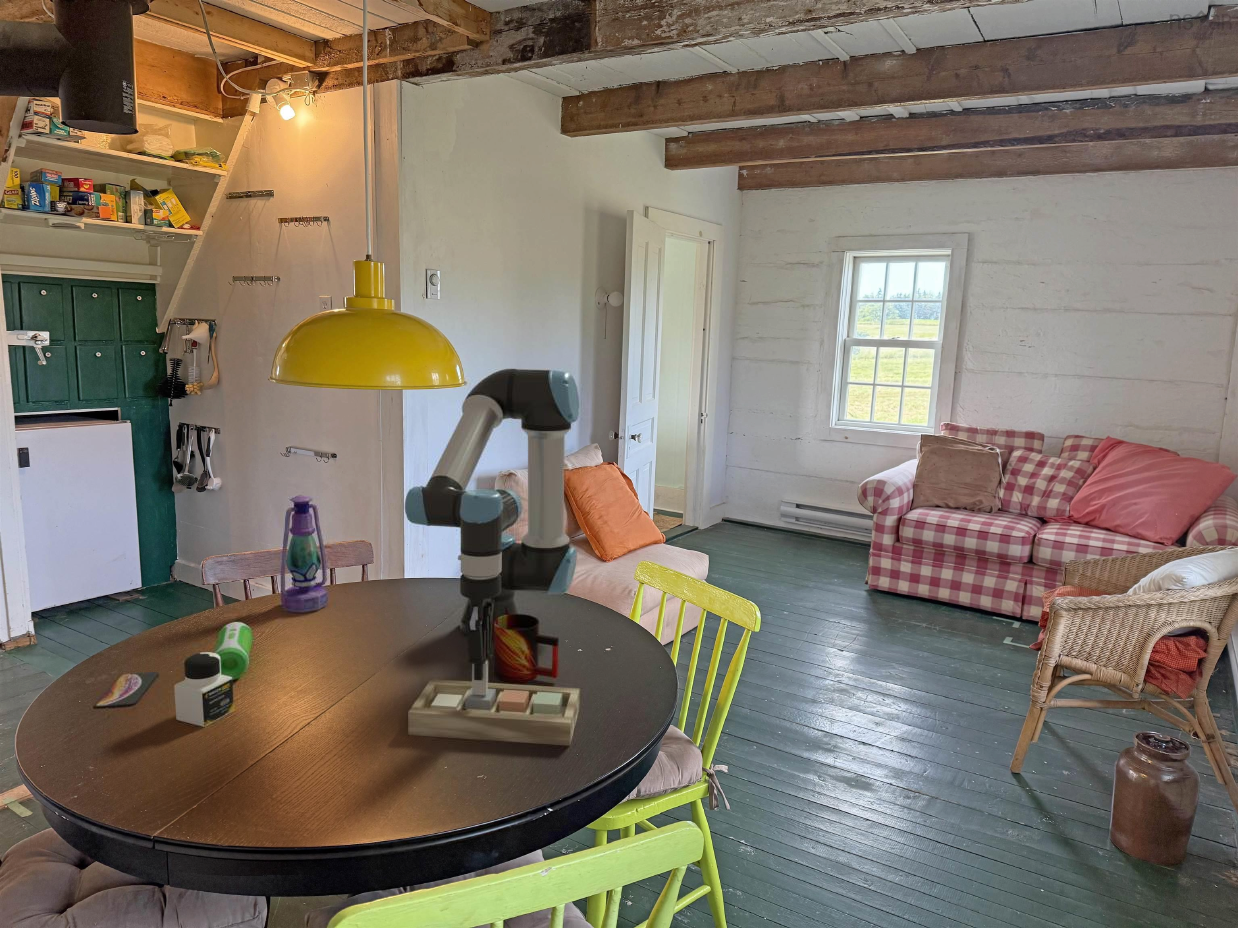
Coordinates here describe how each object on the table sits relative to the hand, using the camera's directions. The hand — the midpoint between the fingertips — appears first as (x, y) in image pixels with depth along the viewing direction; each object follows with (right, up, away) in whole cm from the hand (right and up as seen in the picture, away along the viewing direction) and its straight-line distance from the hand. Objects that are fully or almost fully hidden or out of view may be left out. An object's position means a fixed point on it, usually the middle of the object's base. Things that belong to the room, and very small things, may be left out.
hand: (479, 692), depth 154 cm
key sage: (+13, -3, 0) cm, 13 cm away
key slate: (0, -2, +1) cm, 2 cm away
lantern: (-56, +6, +58) cm, 81 cm away
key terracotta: (+6, -3, 0) cm, 7 cm away
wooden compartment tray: (+3, -6, +1) cm, 7 cm away
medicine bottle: (-52, -4, 0) cm, 52 cm away
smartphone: (-73, -2, +9) cm, 73 cm away
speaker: (-57, -1, +22) cm, 61 cm away
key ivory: (-7, -4, +1) cm, 8 cm away
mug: (+6, -2, +23) cm, 23 cm away
